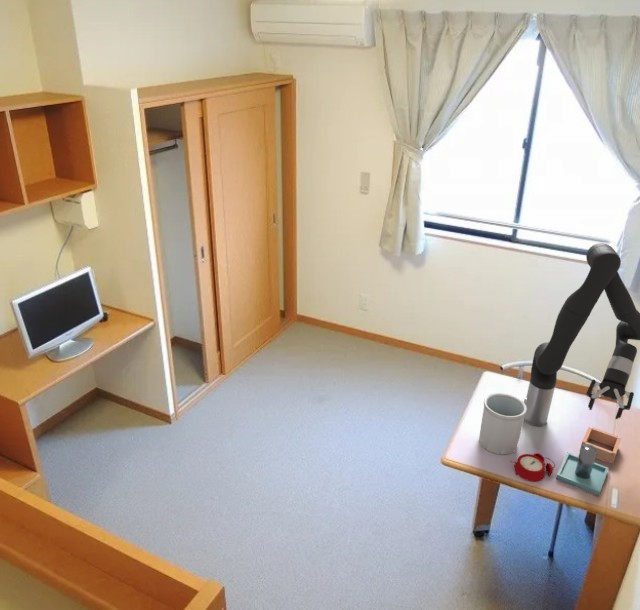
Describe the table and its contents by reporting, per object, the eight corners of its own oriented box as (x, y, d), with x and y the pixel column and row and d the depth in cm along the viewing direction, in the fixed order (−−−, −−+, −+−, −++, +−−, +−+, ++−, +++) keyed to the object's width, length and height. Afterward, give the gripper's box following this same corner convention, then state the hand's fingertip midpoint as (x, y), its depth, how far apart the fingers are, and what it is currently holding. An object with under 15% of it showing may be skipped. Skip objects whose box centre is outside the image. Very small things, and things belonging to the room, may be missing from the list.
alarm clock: (506, 457, 208) (543, 442, 210) (507, 469, 211) (543, 454, 214) (524, 477, 199) (562, 461, 202) (525, 490, 202) (562, 473, 205)
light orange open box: (579, 451, 216) (581, 442, 214) (586, 435, 225) (589, 426, 223) (612, 464, 211) (615, 454, 208) (618, 447, 219) (621, 437, 217)
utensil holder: (484, 424, 229) (490, 387, 221) (522, 438, 223) (531, 400, 215) (472, 446, 218) (478, 408, 210) (512, 461, 211) (521, 422, 203)
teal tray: (555, 478, 204) (556, 474, 203) (566, 456, 214) (567, 452, 213) (598, 496, 197) (600, 492, 196) (607, 472, 207) (608, 467, 206)
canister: (573, 475, 204) (579, 450, 199) (576, 466, 208) (582, 442, 203) (588, 480, 202) (595, 456, 197) (591, 471, 206) (598, 447, 201)
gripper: (596, 362, 208) (581, 404, 205) (641, 375, 201) (625, 419, 197) (596, 367, 214) (582, 409, 211) (639, 381, 207) (625, 424, 204)
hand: (603, 414), depth 204 cm, fingers open, 8 cm apart
